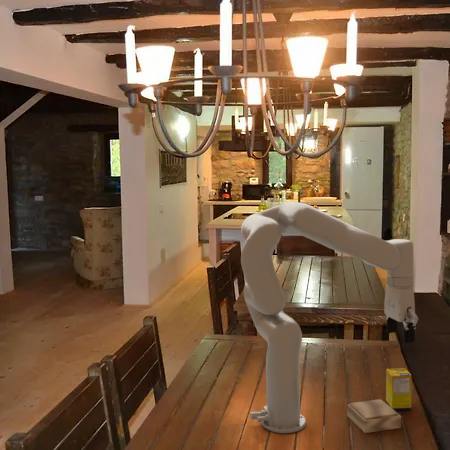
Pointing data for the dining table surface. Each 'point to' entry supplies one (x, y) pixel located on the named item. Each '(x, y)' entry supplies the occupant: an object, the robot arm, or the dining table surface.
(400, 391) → the supplement box
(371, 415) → the pedestal
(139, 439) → the dining table surface
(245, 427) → the dining table surface
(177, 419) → the dining table surface
